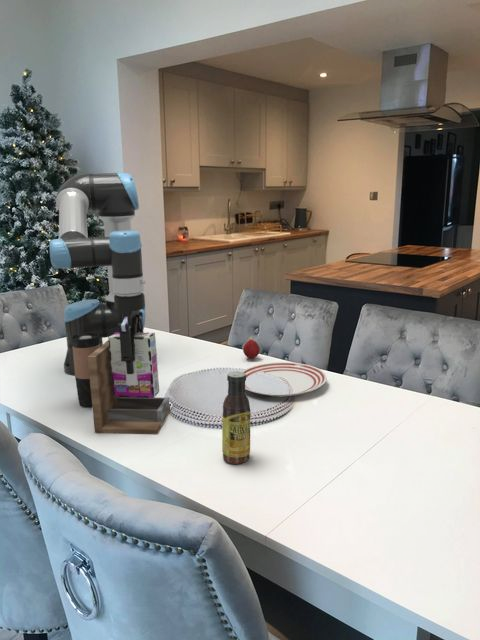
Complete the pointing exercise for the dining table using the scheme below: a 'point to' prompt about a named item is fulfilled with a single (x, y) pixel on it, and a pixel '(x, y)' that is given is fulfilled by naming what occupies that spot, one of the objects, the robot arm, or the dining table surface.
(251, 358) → the red rounded piece
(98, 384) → the brown wooden l-shaped stand
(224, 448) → the sauce bottle
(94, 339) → the travel mug
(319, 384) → the dinner plate
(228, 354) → the dining table surface
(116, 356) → the candy bar box
